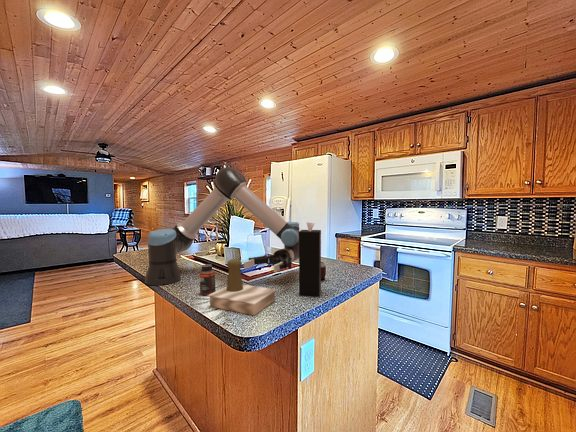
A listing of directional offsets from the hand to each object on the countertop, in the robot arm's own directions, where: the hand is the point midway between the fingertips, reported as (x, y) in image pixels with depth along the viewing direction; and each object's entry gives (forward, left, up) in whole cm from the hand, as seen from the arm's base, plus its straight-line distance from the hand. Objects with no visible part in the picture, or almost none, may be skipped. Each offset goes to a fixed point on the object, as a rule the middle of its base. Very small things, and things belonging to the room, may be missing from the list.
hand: (259, 267), depth 103 cm
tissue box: (+18, +9, -11) cm, 23 cm away
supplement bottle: (-19, -8, -11) cm, 23 cm away
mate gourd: (+15, +27, -11) cm, 33 cm away
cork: (-5, -9, -7) cm, 12 cm away
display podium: (0, -11, -11) cm, 15 cm away
